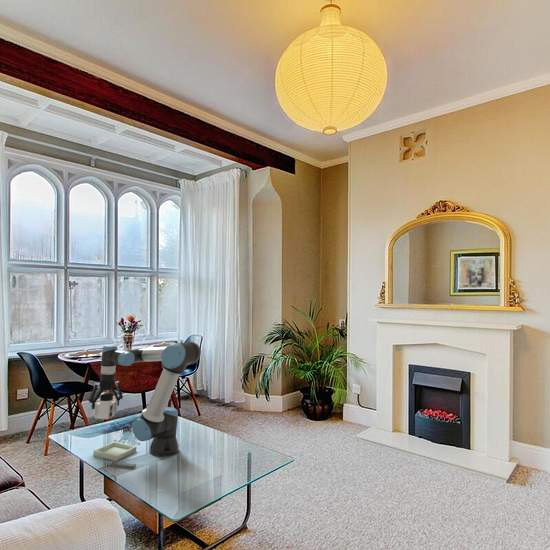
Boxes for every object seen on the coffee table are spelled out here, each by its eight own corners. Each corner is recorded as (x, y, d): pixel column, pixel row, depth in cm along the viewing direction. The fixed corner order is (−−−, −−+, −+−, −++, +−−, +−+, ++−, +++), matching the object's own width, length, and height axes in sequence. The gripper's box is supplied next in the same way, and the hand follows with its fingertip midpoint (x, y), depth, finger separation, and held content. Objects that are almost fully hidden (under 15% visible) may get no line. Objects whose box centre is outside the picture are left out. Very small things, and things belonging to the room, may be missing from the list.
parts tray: (136, 451, 220) (136, 446, 220) (116, 461, 206) (117, 456, 206) (113, 445, 225) (113, 441, 225) (93, 455, 211) (93, 450, 211)
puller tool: (135, 467, 201) (136, 464, 201) (133, 469, 199) (133, 466, 199) (112, 464, 202) (112, 461, 202) (109, 466, 200) (110, 463, 200)
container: (114, 415, 230) (116, 392, 230) (107, 419, 222) (109, 395, 223) (101, 414, 230) (103, 390, 231) (94, 418, 223) (96, 394, 223)
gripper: (126, 370, 238) (123, 408, 237) (83, 373, 222) (80, 414, 222) (131, 372, 232) (128, 412, 231) (88, 376, 217) (84, 418, 216)
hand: (104, 413), depth 226 cm, fingers closed on container, 10 cm apart
